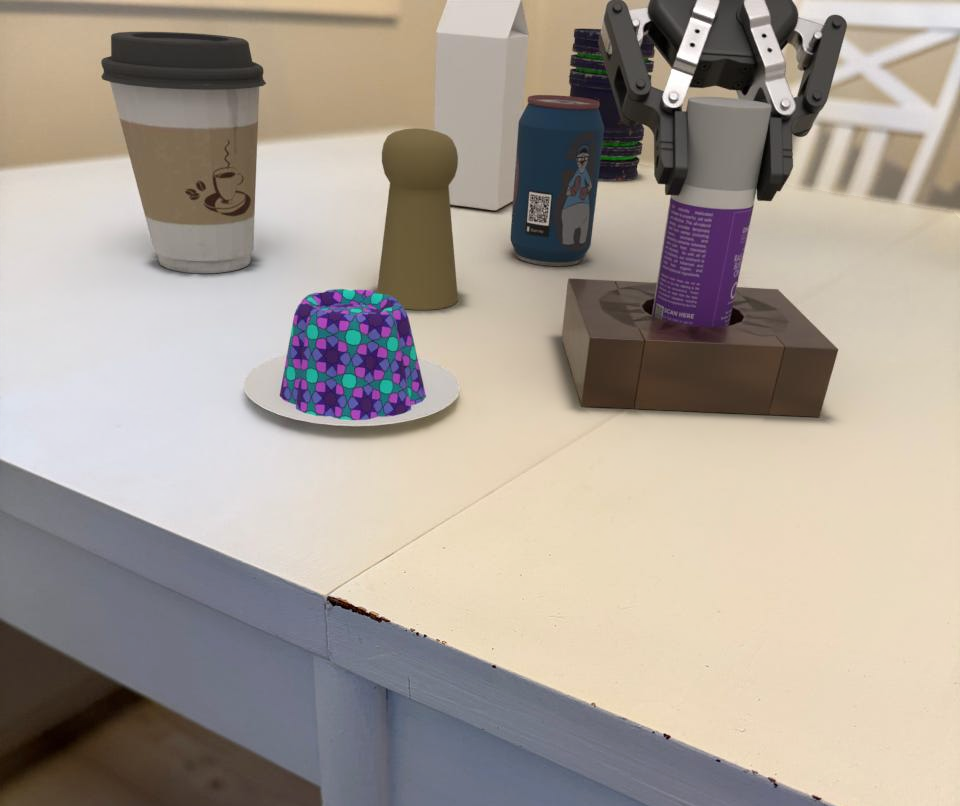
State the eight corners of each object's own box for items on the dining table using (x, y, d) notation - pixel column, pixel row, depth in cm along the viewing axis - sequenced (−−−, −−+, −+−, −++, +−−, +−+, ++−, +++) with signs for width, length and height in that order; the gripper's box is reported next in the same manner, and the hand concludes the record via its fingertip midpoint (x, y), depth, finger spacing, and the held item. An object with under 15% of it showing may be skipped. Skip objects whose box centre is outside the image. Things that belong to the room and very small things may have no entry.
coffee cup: (183, 289, 68) (152, 44, 59) (101, 256, 74) (62, 29, 65) (307, 266, 75) (296, 44, 66) (223, 237, 81) (202, 30, 72)
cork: (467, 308, 68) (475, 138, 62) (385, 311, 66) (385, 136, 60) (446, 285, 73) (451, 124, 66) (369, 286, 71) (367, 122, 65)
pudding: (480, 375, 57) (485, 286, 54) (427, 453, 47) (429, 350, 44) (294, 349, 59) (289, 262, 56) (206, 420, 49) (194, 319, 46)
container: (728, 387, 58) (788, 109, 49) (656, 388, 57) (703, 106, 48) (702, 361, 61) (753, 98, 53) (633, 361, 61) (674, 94, 52)
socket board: (764, 349, 64) (778, 288, 62) (819, 417, 54) (839, 349, 52) (561, 339, 63) (568, 277, 61) (581, 406, 54) (589, 337, 51)
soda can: (528, 244, 85) (540, 91, 78) (600, 256, 83) (619, 100, 76) (495, 259, 80) (506, 97, 73) (571, 272, 78) (589, 107, 71)
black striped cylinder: (544, 171, 116) (557, 28, 108) (583, 163, 123) (598, 28, 114) (615, 184, 112) (634, 36, 103) (651, 175, 119) (672, 35, 110)
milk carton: (496, 212, 95) (510, -15, 84) (431, 203, 97) (437, -21, 86) (516, 200, 101) (532, -15, 90) (454, 192, 103) (463, -20, 91)
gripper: (607, -156, 50) (607, 134, 47) (870, -135, 50) (885, 151, 48) (583, -33, 57) (582, 223, 54) (813, -17, 58) (823, 237, 55)
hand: (723, 188), depth 51 cm, fingers closed on container, 4 cm apart
